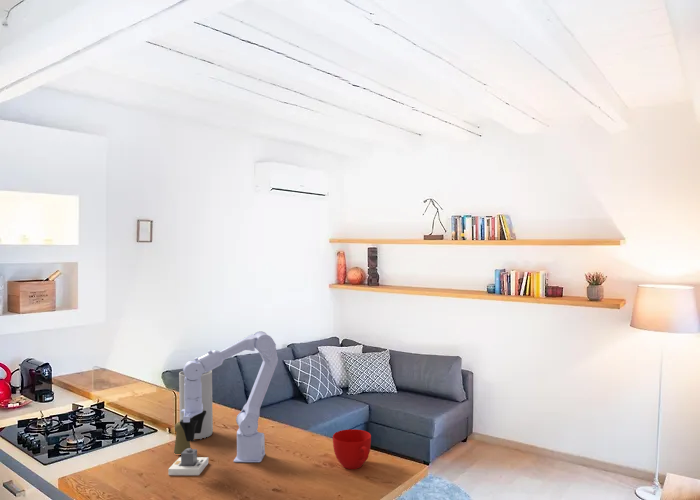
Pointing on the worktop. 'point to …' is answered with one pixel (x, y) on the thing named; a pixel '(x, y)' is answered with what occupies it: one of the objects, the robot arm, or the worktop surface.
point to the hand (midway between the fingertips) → (193, 436)
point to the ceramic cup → (352, 447)
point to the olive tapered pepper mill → (180, 440)
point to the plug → (189, 457)
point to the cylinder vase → (206, 401)
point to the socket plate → (188, 467)
